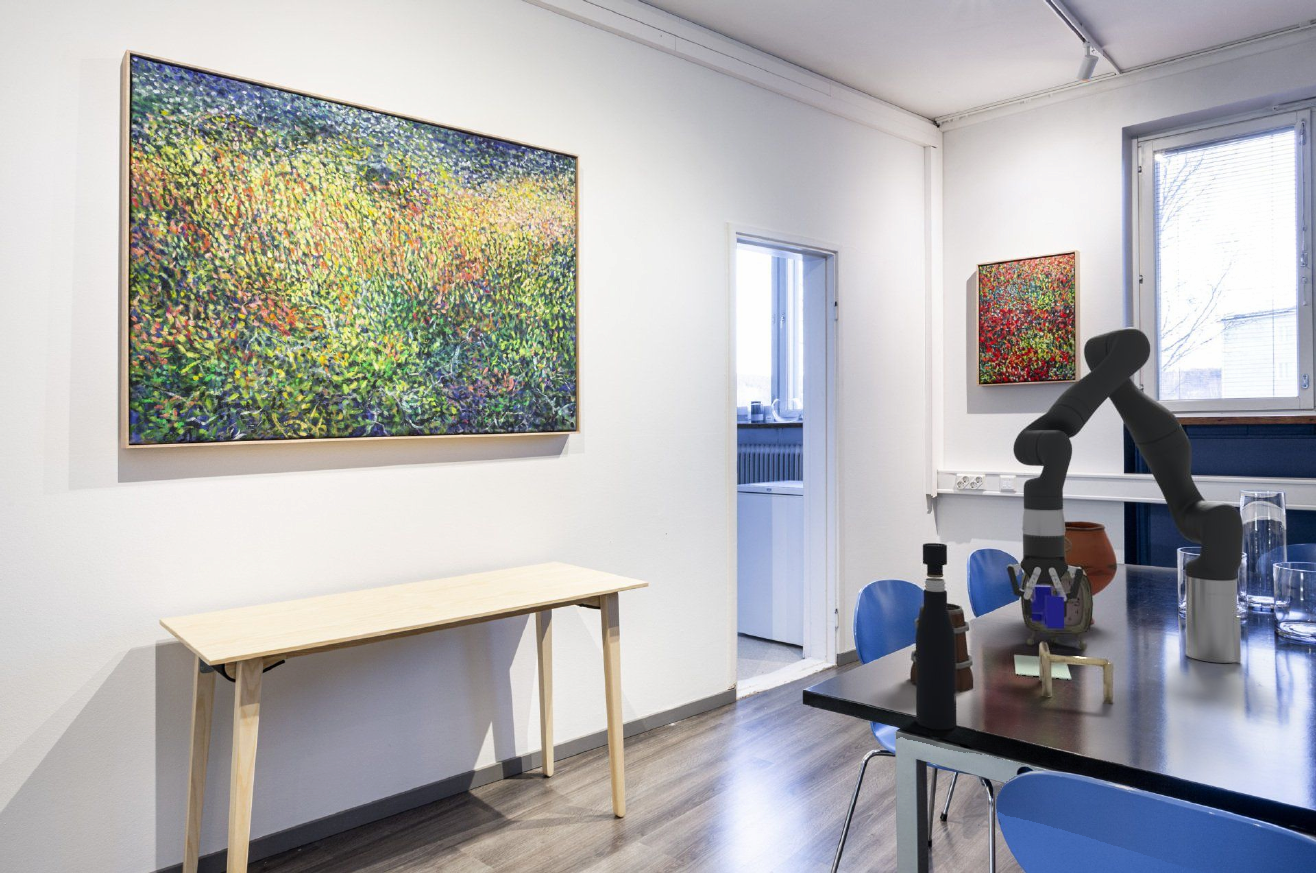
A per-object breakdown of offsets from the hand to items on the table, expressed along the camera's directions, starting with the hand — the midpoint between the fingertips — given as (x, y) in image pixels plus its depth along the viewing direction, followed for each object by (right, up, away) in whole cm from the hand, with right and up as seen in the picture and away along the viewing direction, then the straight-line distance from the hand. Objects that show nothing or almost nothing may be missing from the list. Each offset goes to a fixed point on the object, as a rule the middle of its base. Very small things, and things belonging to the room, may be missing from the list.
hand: (1044, 618), depth 164 cm
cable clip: (0, -1, 0) cm, 1 cm away
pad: (+3, -12, +8) cm, 15 cm away
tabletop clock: (+15, -12, +26) cm, 33 cm away
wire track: (+2, -12, -7) cm, 14 cm away
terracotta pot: (+30, -12, +49) cm, 59 cm away
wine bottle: (-29, -13, -24) cm, 40 cm away
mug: (-19, -12, 0) cm, 23 cm away
